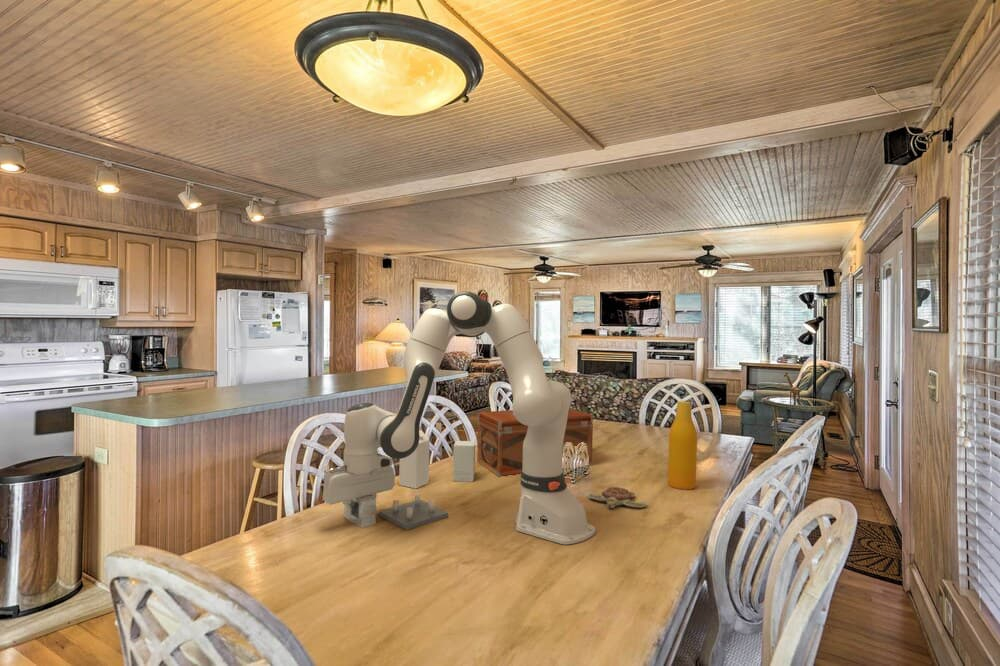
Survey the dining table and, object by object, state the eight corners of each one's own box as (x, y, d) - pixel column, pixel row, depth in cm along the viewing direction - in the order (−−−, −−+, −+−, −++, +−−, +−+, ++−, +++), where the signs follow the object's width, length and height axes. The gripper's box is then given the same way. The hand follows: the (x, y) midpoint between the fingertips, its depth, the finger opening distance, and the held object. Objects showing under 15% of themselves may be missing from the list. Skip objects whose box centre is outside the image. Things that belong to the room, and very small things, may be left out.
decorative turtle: (580, 506, 157) (580, 489, 157) (596, 490, 172) (596, 475, 172) (639, 517, 149) (640, 500, 148) (651, 500, 163) (652, 485, 163)
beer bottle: (691, 482, 182) (694, 400, 181) (699, 490, 172) (701, 405, 172) (664, 480, 182) (667, 399, 182) (670, 489, 173) (673, 404, 173)
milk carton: (398, 485, 172) (399, 429, 171) (412, 479, 178) (412, 425, 178) (416, 489, 168) (416, 431, 168) (428, 483, 175) (429, 427, 174)
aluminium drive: (375, 524, 139) (375, 498, 139) (361, 528, 137) (362, 502, 136) (357, 513, 147) (357, 489, 146) (344, 517, 144) (344, 492, 144)
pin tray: (448, 516, 145) (448, 502, 145) (406, 530, 136) (406, 514, 136) (419, 503, 155) (419, 489, 155) (378, 515, 146) (379, 500, 146)
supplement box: (473, 482, 177) (474, 445, 177) (452, 481, 177) (452, 445, 177) (475, 475, 184) (475, 440, 184) (454, 475, 184) (455, 440, 184)
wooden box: (476, 462, 201) (477, 412, 201) (564, 453, 218) (565, 406, 218) (497, 477, 183) (498, 422, 182) (592, 466, 200) (593, 415, 199)
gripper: (329, 472, 132) (329, 525, 132) (397, 458, 146) (397, 506, 146) (318, 467, 136) (318, 518, 137) (386, 454, 150) (385, 500, 151)
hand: (359, 512), depth 142 cm, fingers closed on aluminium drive, 4 cm apart
